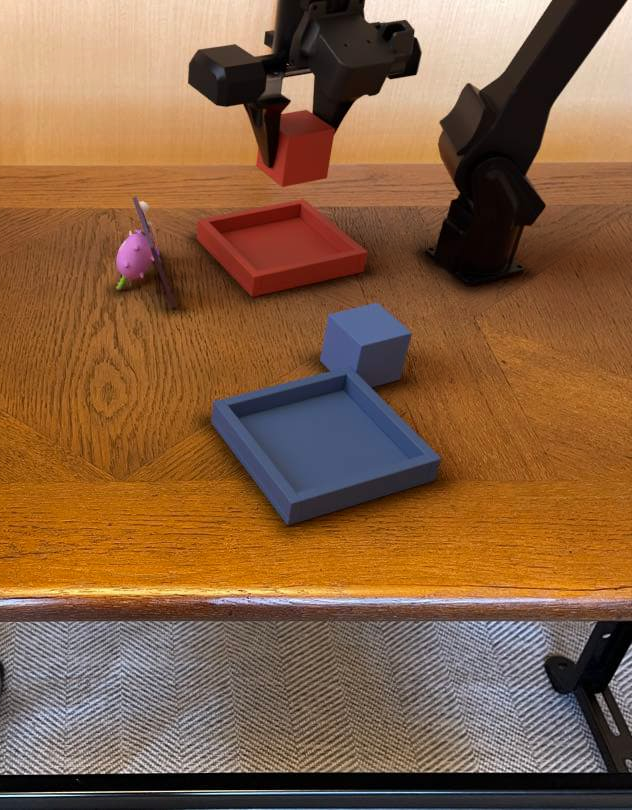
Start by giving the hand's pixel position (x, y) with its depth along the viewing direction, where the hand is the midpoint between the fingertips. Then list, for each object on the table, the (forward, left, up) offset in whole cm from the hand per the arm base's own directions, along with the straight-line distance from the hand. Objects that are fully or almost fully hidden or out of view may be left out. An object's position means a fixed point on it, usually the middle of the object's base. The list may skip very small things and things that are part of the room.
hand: (292, 161), depth 81 cm
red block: (0, 0, -1) cm, 1 cm away
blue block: (+3, +17, -10) cm, 20 cm away
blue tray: (+11, +24, -10) cm, 29 cm away
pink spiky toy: (+14, -1, -10) cm, 17 cm away
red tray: (0, -1, -10) cm, 10 cm away
